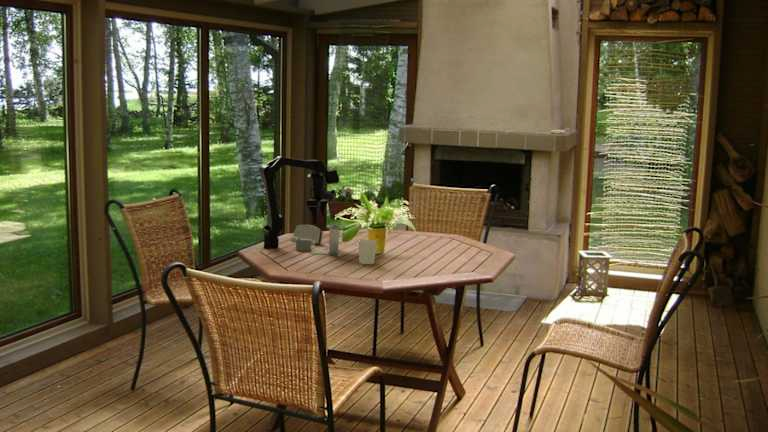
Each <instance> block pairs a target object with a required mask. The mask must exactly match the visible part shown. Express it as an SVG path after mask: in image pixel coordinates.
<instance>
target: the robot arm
mask: <svg viewBox="0 0 768 432" xmlns="http://www.w3.org/2000/svg"><path fill="white" fill-rule="evenodd" d="M283 166H289V167H296V168H302V169H306V170H309V171H310V172H309V174H307V178H310V179H311V188H310V192H312V196H311V197H310V199H307V200H306V201H305V207H307V208H308V209H309V211H310V212H311V214H312V216H313V218H314V220H318V217H319V209H320V213H321V215H322V216H325V215H326V210H327V207H328V206H327V205H328V204H329V203H330V202H333V201H335V199H336V198H337V192H336V190H335V189H331V190H327V187H326V186H325V185H327V186H328V185H334V184H339V182H340V176H339V174H338V172H337V169H331V170H328V169H327V168H326V167H325V164H324V162H323V161H322V160H317V159H305V160H303V159H299V158H298V159H297V158H293V157H285V156H282V155H279V156H276V157H275V158H273V159H272V160H270V161H269V162H267V163H266V164H262V165H261V166H260V167H258V168H259V170H258V173H259V176H260V179H261V180H262V181H261V182H262V183H263V185H264V190H265V191H264V192H265V199H266V206H267V212H268V214H267V219H266V221H267V222H266V225H265V226H264V227H263V228H262V229H261V231H262V233H263V249H278V247H279V240H280V239H279V235H280V233H281V231H282V230H283V228H284V225H285V222H284V216H283V215H281V214H280V213H279V209H278V204H277V197H276V191H275V190H276V189H275V181H276V173H277V172H278V171H279V170H280V169H281V168H282V167H283ZM313 172H314V173H313Z"/></svg>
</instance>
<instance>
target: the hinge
mask: <svg viewBox="0 0 768 432" xmlns="http://www.w3.org/2000/svg"><path fill="white" fill-rule="evenodd" d="M323 235H324V231H323V230H322V229H321V228H319V227H317V226H315V225H311V224H304V223H303V224H299V225H297V226H296V227H295V229H294V233H293V235H292V236H291V238H290V242H293V243H296V239H298V238H300V239H311V246H313V247H315V246H316V245H322V241H323Z"/></svg>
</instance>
